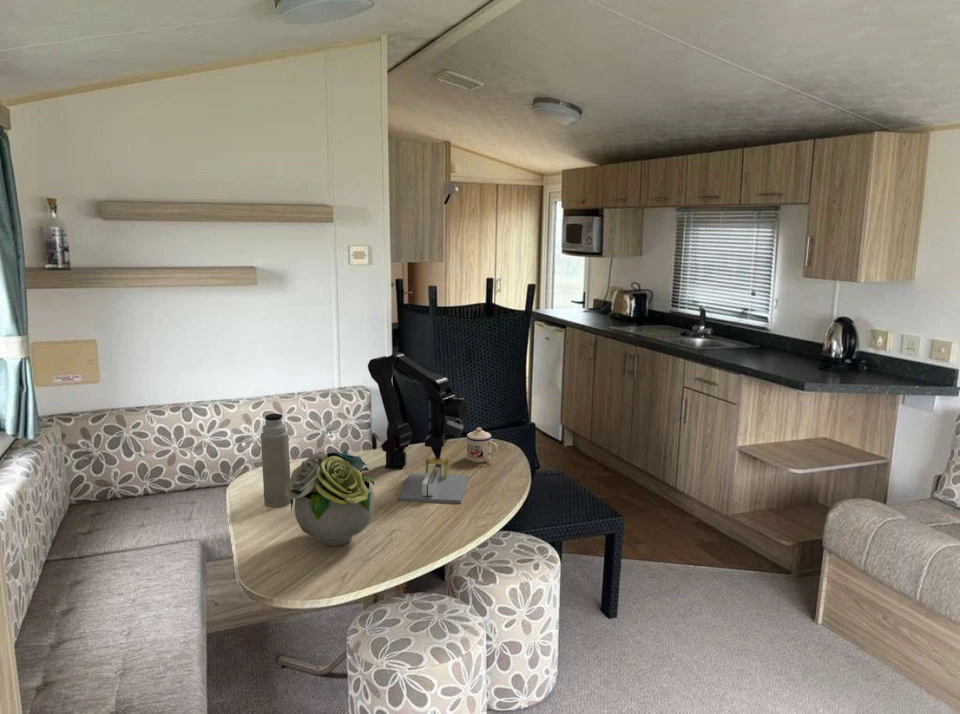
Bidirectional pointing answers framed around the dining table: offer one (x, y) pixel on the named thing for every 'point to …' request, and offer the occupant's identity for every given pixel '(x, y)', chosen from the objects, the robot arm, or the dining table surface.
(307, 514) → the flower arrangement
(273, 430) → the thermos bottle
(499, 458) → the dining table surface
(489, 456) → the teacup with lid
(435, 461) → the lock collar
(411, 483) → the tongs base
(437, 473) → the tong arm
